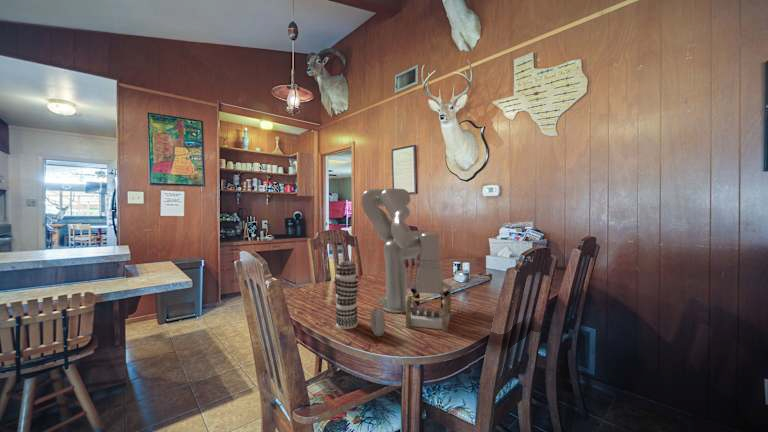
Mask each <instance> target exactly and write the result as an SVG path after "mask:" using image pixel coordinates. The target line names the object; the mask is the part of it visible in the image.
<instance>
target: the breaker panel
mask: <svg viewBox="0 0 768 432" xmlns="http://www.w3.org/2000/svg"><path fill="white" fill-rule="evenodd" d="M449 322H450V320H449V313H448V325H449ZM411 327H419V328H428V329H433V330H434V329H435V330H442V311H441V312H440V310H436V309H435V311H432V309H427V310H425V308H424V309H423V308H420V309H418V308H417V309H414V308H413V307H412V308H411Z"/></svg>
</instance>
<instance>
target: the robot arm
mask: <svg viewBox="0 0 768 432" xmlns="http://www.w3.org/2000/svg"><path fill="white" fill-rule="evenodd" d="M360 198H361V199H360V200H361V203H360V204H361V207H362V211H363V212H364V214H365V215H366V217H367V218H368V220H369V221H370V223H371V225H372V226H373V229H374V230H375V232H376V234H377V236H378V238H379V239H380V240H381V241H382V242H385V244H384V246H383V247H382V248H383V256H384V261H385V262H384V263H385V297H377V303H379V304H383V305H382V309H383V311H385V312H388V313H392V314H393V313H394V314H395V313H396V314H400V313H401V314H402V313H406V296H408V287H409V289H410V292H411V293H412V295H413V294H414V295H415V298H418V299H421V296H420V293H422V294H423V293H424V294H438V295H440V300H441V301H442V299H446V296H447V295H448V294H449V293H450V291H451V292H452V289H453V286H452V285H450V284H448V283H446V282H445V281H444V279H443V272H442V266H440V234H439V233H437V232H433V231H431V232H430V231H429V232H428V231H425V230H411V228H410V226H409V225H408V224H407V223H406V222H405V221H406V220H407V219H408V217H410V214H411V211H410V209H409V207H408V205H410V202H411V195H410V193H409V192H408V190H407V189H404V188H385V189H383V188H379V189H378V188H372V189H367V190H364V192H363V193H362V194H361V197H360ZM380 207H385V209H386V211H387V213H388V214H387V213H386V212H385V211H384V210H383V209H382V208H380ZM388 215H389V216H390V218H391V219H392V220H391V219H390V218H389V216H388ZM419 254H420V255H419ZM418 256H419V259H417V260H416V264H419V266H418V268H417V273H416V280H415V281H412V282H410V283H409V284H408V281H407V280H408V272H407V270H408V269H407V267H406V265H405V263H404V262H403V261H404V260H410V259H416V258H417V257H418ZM407 284H408V285H407ZM415 285H416V286H415ZM414 286H415V287H416V288H417V291H416V290H415V289H414V288H413V287H414ZM444 288H446V290H447V291H446V290H444ZM444 291H446V292H445V293H444ZM415 303H417V307H419V306H420V304H421V301H415ZM440 309H442V303H440Z"/></svg>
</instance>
